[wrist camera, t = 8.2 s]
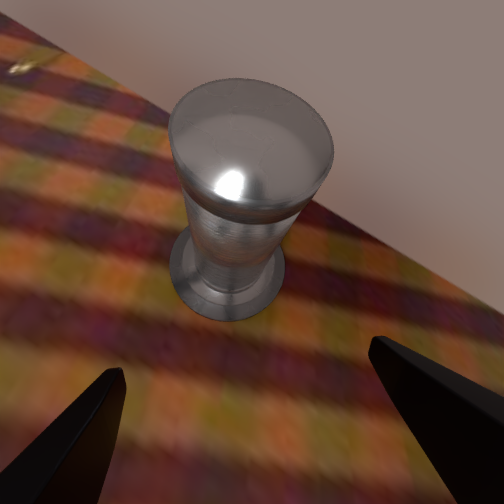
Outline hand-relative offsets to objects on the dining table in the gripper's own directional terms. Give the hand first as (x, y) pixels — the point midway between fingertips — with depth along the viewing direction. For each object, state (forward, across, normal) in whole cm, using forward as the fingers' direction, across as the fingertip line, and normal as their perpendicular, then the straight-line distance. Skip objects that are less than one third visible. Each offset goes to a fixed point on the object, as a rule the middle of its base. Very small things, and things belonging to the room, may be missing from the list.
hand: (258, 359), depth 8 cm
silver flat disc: (+11, 0, +1) cm, 11 cm away
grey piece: (+10, 0, +1) cm, 10 cm away
